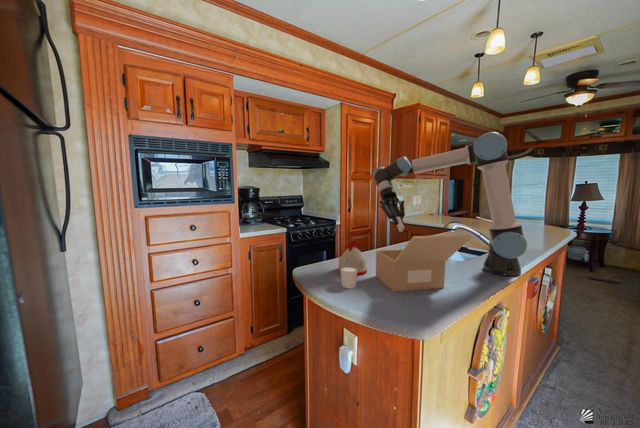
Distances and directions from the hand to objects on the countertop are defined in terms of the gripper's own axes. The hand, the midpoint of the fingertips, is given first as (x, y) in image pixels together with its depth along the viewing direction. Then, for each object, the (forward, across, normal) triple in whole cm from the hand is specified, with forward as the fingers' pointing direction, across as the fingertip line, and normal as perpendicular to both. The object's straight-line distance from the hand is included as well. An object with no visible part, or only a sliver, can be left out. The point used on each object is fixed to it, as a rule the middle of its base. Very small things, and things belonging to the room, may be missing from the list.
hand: (401, 229), depth 118 cm
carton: (+20, 0, -10) cm, 23 cm away
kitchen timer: (+8, +19, -23) cm, 31 cm away
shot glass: (+20, +26, -10) cm, 35 cm away
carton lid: (+18, 0, +14) cm, 23 cm away
